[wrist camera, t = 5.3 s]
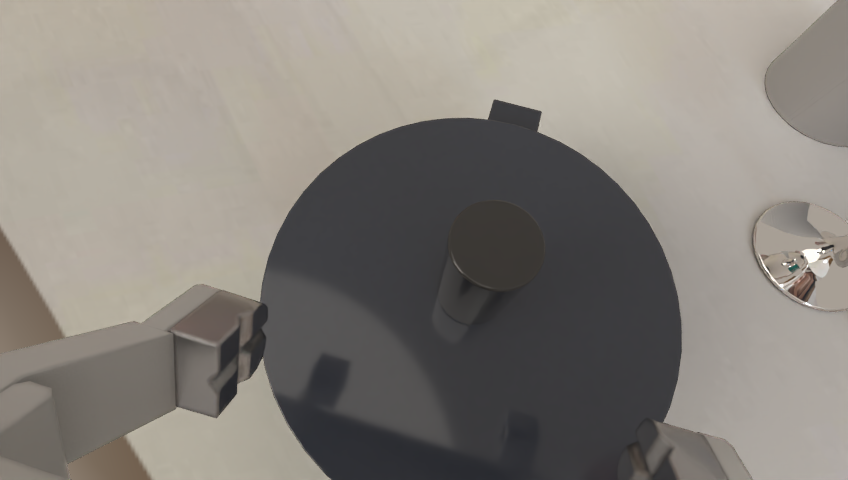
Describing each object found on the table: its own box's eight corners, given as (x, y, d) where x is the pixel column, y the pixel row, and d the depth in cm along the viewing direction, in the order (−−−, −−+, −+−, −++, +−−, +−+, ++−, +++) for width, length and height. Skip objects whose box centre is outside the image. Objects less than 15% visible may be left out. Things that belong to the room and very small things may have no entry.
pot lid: (677, 184, 19) (793, 88, 13) (643, 596, 13) (819, 742, 8) (350, 98, 20) (325, -24, 14) (196, 444, 15) (56, 472, 9)
